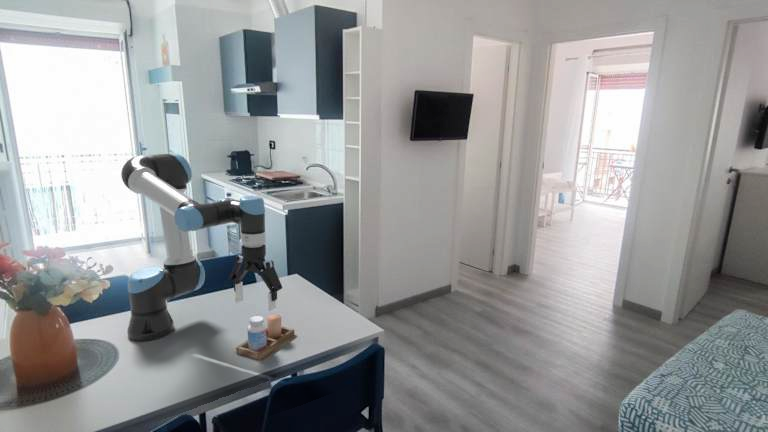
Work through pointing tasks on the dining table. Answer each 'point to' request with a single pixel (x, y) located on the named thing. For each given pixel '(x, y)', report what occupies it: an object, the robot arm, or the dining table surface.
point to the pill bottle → (257, 334)
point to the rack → (271, 345)
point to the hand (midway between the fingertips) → (255, 305)
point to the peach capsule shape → (274, 326)
